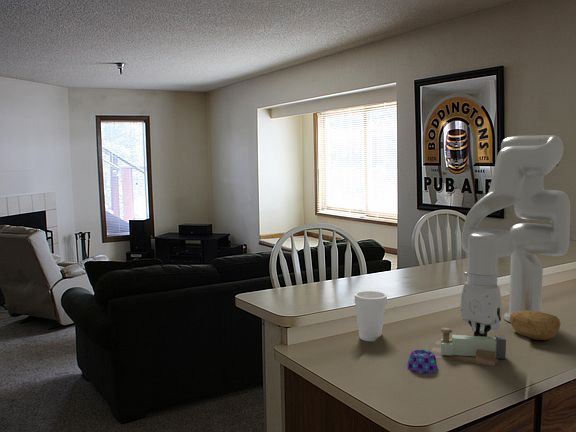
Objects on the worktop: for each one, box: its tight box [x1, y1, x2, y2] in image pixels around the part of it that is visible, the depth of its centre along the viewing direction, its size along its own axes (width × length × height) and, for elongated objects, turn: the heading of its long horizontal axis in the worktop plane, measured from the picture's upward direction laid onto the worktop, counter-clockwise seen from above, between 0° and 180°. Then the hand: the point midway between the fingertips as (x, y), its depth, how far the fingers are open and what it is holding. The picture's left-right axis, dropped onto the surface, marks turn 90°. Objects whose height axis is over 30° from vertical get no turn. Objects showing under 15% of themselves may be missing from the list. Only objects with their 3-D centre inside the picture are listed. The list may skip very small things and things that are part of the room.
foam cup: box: [354, 290, 388, 342], centre depth 166 cm, size 10×9×13 cm
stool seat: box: [430, 327, 499, 367], centre depth 151 cm, size 16×17×8 cm
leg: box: [441, 334, 507, 360], centre depth 148 cm, size 16×4×5 cm, turn 78°
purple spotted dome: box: [406, 349, 439, 374], centre depth 140 cm, size 12×12×5 cm
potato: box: [509, 310, 561, 341], centre depth 164 cm, size 10×14×8 cm
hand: (480, 346), depth 151 cm, fingers closed
